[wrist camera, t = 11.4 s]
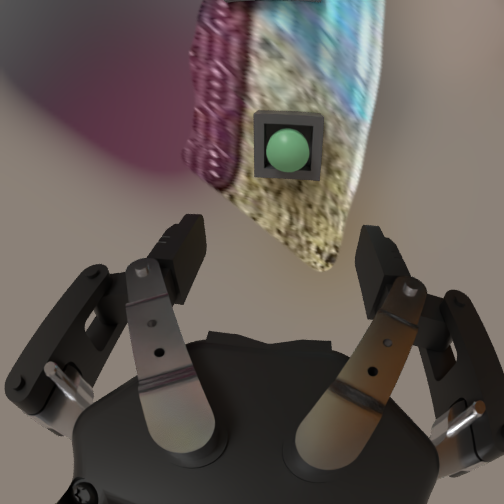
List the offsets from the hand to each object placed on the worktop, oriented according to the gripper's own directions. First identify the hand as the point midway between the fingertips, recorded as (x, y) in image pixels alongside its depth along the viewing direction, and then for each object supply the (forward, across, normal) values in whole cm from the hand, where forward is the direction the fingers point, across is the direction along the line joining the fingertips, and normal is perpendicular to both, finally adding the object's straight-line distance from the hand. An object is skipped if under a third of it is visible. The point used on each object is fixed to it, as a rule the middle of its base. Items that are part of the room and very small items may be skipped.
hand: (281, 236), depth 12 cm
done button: (+17, 0, 0) cm, 17 cm away
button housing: (+20, 0, 0) cm, 20 cm away
